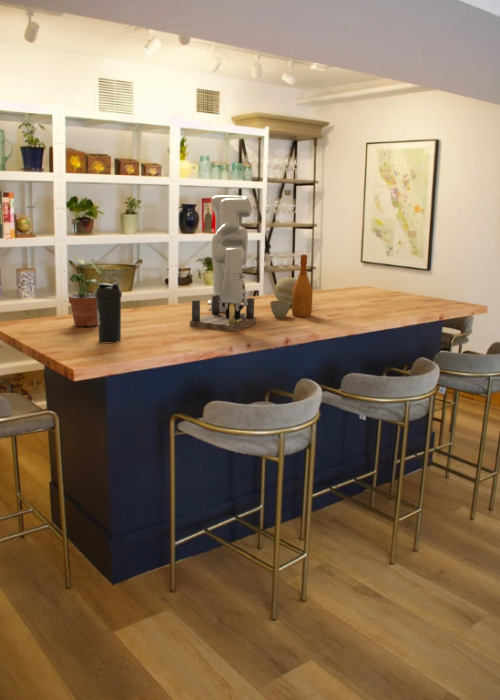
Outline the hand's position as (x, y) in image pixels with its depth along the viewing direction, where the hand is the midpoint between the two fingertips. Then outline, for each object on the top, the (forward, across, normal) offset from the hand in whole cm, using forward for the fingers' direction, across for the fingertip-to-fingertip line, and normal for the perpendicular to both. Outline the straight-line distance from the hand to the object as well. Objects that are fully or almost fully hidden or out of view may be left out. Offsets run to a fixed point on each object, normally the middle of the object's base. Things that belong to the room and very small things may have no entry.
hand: (232, 318), depth 283 cm
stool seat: (+5, +10, -9) cm, 14 cm away
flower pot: (+5, -5, -41) cm, 42 cm away
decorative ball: (+5, +4, -74) cm, 74 cm away
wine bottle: (+5, -13, -49) cm, 51 cm away
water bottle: (+6, +34, +42) cm, 54 cm away
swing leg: (+2, 0, -5) cm, 5 cm away
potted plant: (+5, +60, +23) cm, 65 cm away
